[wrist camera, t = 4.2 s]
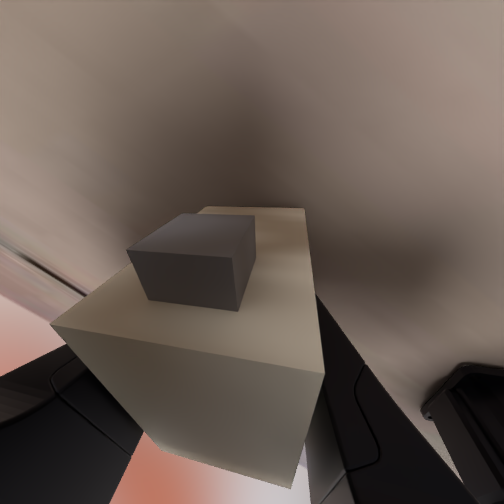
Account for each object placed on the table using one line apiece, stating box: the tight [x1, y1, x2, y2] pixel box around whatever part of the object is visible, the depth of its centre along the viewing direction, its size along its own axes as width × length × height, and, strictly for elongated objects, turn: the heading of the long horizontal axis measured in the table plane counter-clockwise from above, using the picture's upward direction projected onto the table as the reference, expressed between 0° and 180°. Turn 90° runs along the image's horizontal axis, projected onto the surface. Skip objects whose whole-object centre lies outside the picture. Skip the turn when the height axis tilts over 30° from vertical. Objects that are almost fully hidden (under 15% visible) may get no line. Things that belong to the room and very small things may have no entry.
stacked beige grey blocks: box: [50, 206, 325, 489], centre depth 7 cm, size 4×8×6 cm, turn 2°
